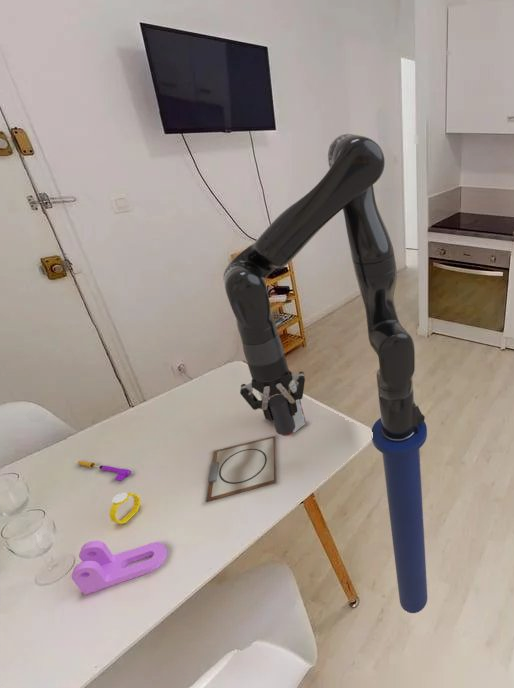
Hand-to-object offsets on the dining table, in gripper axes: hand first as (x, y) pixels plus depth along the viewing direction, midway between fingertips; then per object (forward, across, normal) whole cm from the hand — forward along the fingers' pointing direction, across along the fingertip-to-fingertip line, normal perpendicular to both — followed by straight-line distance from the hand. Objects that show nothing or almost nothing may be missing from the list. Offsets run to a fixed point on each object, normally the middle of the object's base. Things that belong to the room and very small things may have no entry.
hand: (282, 415), depth 94 cm
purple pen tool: (+15, -45, +14) cm, 50 cm away
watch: (+15, -35, -3) cm, 38 cm away
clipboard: (+15, -12, +3) cm, 20 cm away
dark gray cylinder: (+5, 0, 0) cm, 5 cm away
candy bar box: (+15, -2, +16) cm, 22 cm away
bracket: (+15, -32, -16) cm, 39 cm away
